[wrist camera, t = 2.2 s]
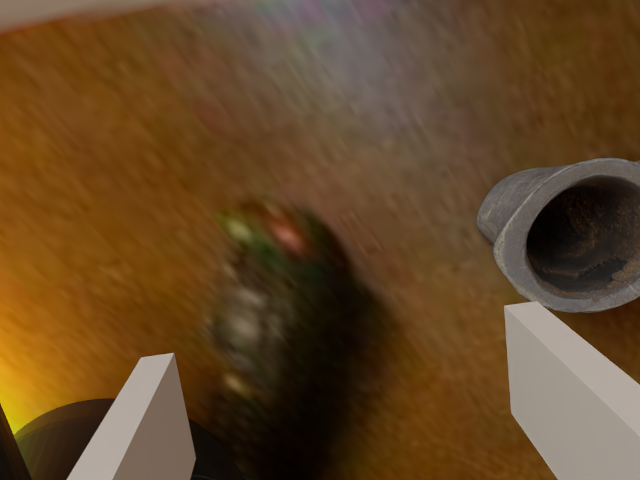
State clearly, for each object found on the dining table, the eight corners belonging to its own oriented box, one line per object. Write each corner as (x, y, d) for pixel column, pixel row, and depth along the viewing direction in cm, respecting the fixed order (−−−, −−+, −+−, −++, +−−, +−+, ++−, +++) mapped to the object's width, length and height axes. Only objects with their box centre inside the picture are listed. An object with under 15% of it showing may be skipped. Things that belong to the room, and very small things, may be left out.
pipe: (693, 220, 31) (826, 259, 23) (457, 277, 31) (510, 334, 23) (683, 105, 30) (820, 106, 22) (435, 165, 30) (485, 187, 22)
